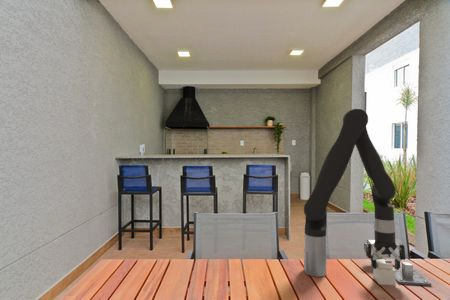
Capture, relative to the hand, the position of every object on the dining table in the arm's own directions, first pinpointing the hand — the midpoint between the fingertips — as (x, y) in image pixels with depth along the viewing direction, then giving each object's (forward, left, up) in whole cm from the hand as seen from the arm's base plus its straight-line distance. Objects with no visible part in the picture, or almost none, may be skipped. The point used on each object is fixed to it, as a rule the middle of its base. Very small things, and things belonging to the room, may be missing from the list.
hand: (385, 268), depth 115 cm
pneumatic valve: (+4, +18, -6) cm, 20 cm away
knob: (0, 0, -5) cm, 5 cm away
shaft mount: (+11, +5, -5) cm, 13 cm away
